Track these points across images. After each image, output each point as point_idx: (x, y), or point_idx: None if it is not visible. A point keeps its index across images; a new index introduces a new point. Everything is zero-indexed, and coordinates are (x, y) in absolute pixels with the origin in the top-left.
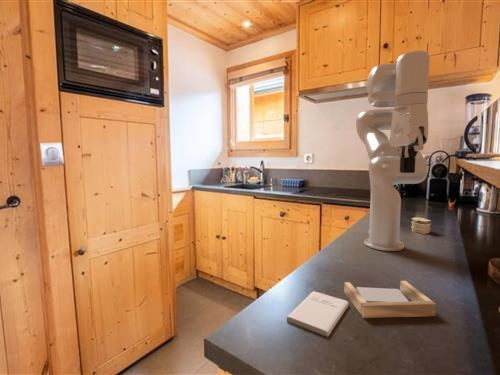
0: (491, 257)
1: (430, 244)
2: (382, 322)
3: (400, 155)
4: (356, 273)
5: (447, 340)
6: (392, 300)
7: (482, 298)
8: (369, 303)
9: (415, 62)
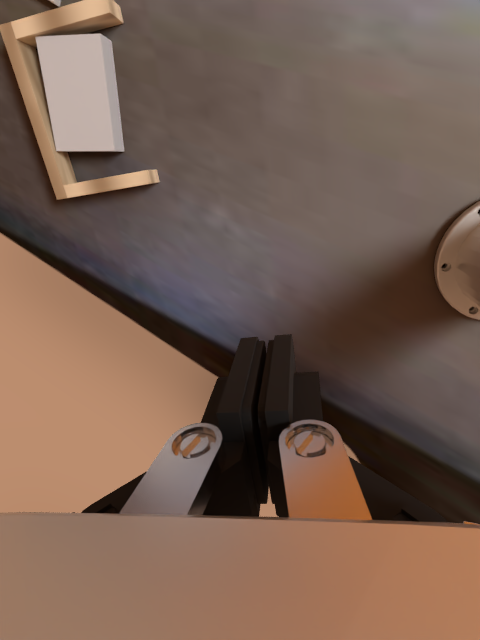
0: None
1: None
2: None
3: (313, 443)
4: (247, 77)
5: (4, 179)
6: (56, 113)
7: (157, 319)
8: (13, 44)
9: None
